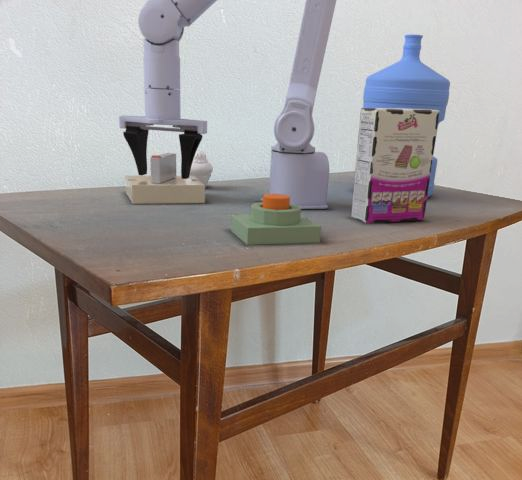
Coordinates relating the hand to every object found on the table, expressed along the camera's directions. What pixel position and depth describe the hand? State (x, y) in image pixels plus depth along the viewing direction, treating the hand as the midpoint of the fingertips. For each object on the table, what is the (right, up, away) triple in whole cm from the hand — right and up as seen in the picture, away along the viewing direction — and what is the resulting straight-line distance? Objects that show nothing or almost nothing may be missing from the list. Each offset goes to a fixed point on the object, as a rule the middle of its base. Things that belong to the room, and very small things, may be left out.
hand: (163, 176), depth 100 cm
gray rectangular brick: (0, 0, 0) cm, 1 cm away
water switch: (+18, -14, -21) cm, 31 cm away
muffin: (+4, +2, +13) cm, 14 cm away
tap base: (0, -3, +1) cm, 4 cm away
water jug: (+43, +2, +18) cm, 46 cm away
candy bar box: (+36, -9, -6) cm, 38 cm away
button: (+18, -11, -22) cm, 31 cm away
